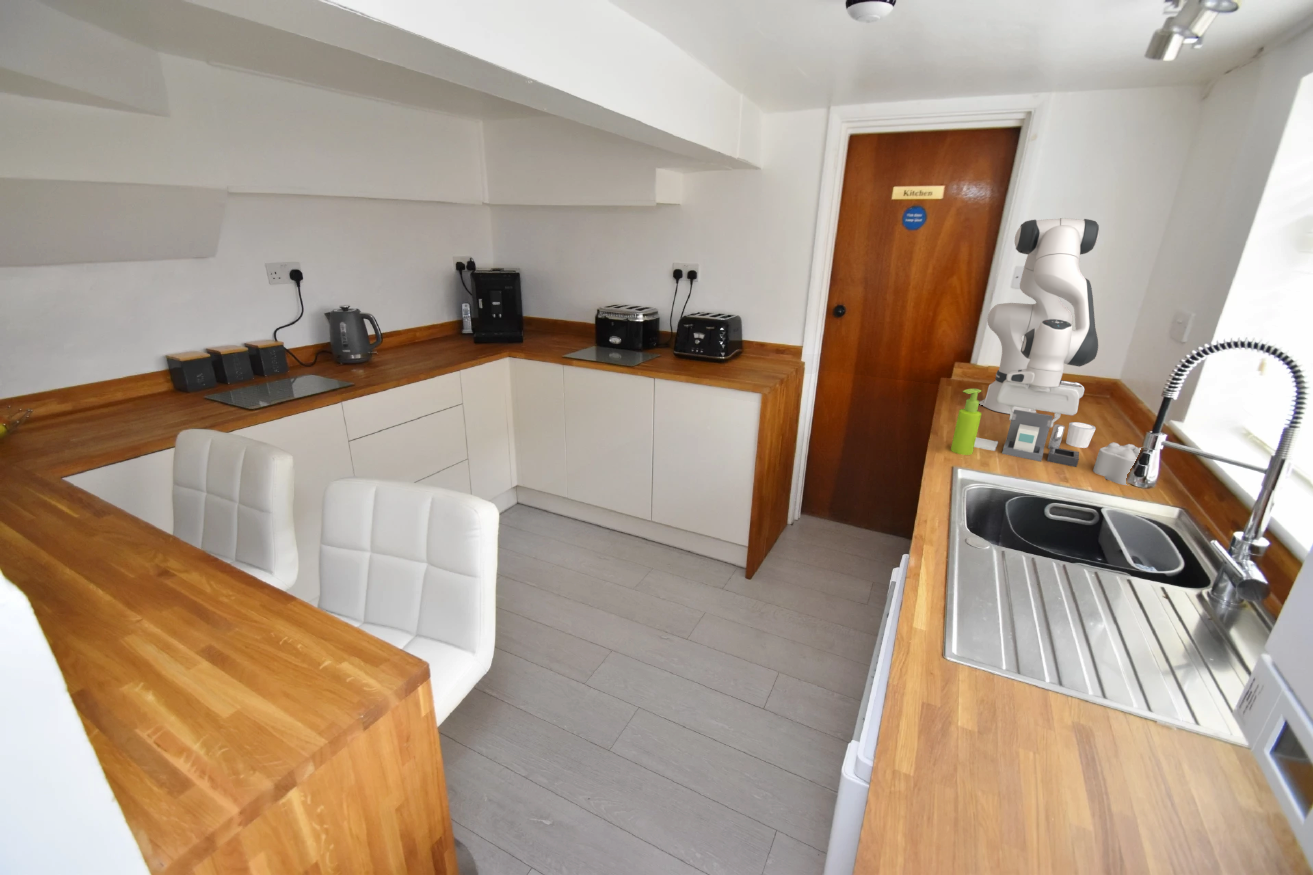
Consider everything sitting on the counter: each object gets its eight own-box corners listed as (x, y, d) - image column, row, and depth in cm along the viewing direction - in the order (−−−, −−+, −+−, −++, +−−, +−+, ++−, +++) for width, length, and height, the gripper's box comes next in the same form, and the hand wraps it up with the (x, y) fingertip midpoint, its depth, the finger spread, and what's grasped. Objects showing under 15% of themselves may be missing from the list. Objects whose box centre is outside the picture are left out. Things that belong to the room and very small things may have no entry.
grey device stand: (1004, 445, 180) (1014, 409, 175) (1042, 453, 174) (1052, 415, 170) (1001, 455, 172) (1011, 417, 168) (1040, 463, 167) (1051, 424, 162)
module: (1013, 448, 176) (1020, 424, 173) (1032, 452, 173) (1039, 427, 170) (1012, 453, 172) (1018, 428, 169) (1031, 457, 169) (1038, 432, 166)
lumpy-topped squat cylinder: (1086, 472, 161) (1095, 443, 158) (1114, 465, 166) (1123, 437, 163) (1127, 487, 153) (1137, 457, 149) (1155, 479, 158) (1165, 450, 155)
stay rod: (1047, 447, 179) (1054, 423, 176) (1058, 449, 177) (1065, 425, 174) (1047, 450, 177) (1054, 426, 174) (1057, 452, 175) (1065, 428, 172)
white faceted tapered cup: (1066, 440, 185) (1072, 420, 183) (1091, 446, 181) (1098, 425, 178) (1060, 445, 181) (1067, 425, 178) (1086, 451, 176) (1093, 430, 174)
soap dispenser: (943, 451, 174) (957, 387, 167) (959, 448, 177) (973, 385, 170) (959, 458, 169) (974, 393, 162) (976, 455, 172) (991, 391, 165)
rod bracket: (1047, 455, 172) (1050, 446, 171) (1076, 461, 169) (1078, 451, 168) (1046, 463, 167) (1049, 453, 166) (1075, 468, 163) (1078, 459, 162)
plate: (972, 440, 184) (973, 436, 183) (997, 445, 180) (998, 441, 180) (968, 447, 178) (969, 443, 177) (994, 452, 174) (995, 449, 173)
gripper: (1086, 381, 161) (1072, 428, 166) (1003, 370, 172) (993, 414, 177) (1086, 385, 156) (1072, 433, 161) (1001, 374, 167) (990, 419, 172)
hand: (1030, 423), depth 169 cm, fingers open, 8 cm apart
